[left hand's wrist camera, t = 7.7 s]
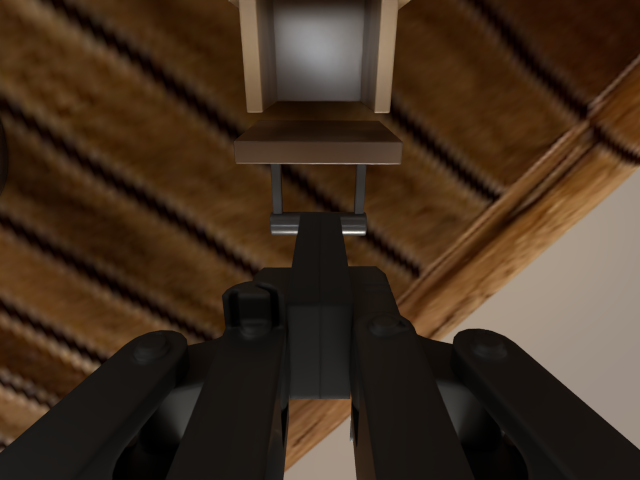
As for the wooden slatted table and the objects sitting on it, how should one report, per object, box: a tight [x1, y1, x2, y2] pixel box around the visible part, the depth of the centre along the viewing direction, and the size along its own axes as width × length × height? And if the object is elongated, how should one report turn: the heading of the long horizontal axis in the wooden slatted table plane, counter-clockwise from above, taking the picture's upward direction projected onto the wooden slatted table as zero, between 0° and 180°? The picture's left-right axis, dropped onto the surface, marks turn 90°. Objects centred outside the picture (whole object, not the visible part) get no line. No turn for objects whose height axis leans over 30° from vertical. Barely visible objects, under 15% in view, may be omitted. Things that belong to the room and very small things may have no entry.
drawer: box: [234, 0, 403, 235], centre depth 21 cm, size 22×9×9 cm, turn 0°
